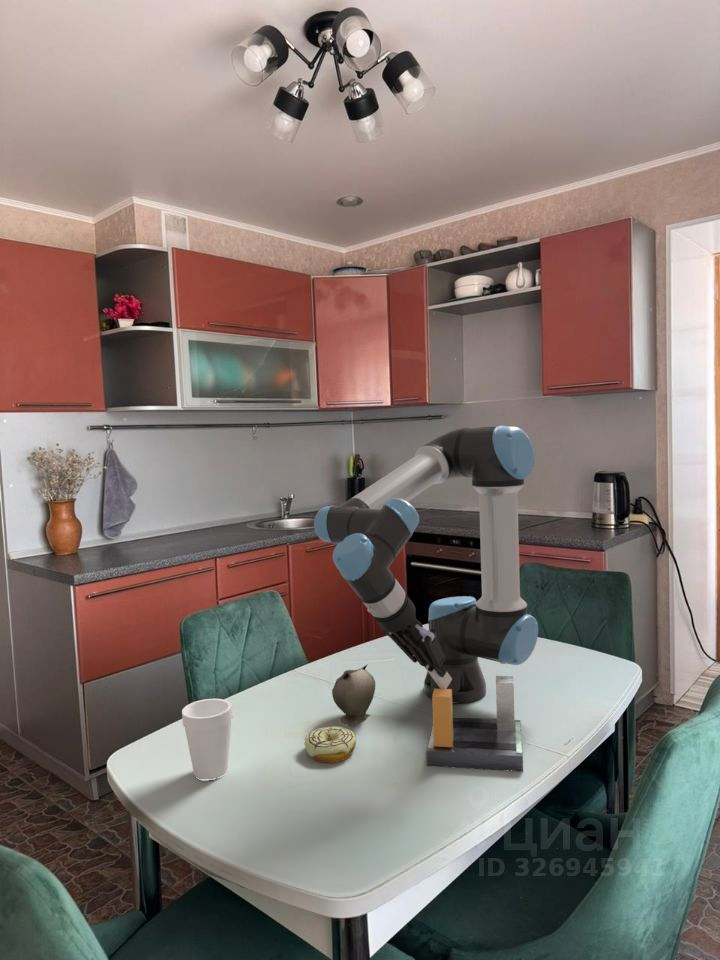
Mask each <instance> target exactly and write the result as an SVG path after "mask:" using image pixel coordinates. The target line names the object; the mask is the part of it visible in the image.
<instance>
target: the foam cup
mask: <svg viewBox="0 0 720 960" xmlns="http://www.w3.org/2000/svg"><path fill="white" fill-rule="evenodd" d="M181 717H182V719H181V720H182V725H183V727H184V730H185V736H186V740H187V745H188V750H189V755H190V756H189V757H190V760H191V761H190V762H191V765H192V770H193V776H194V775H195V776H196V777H197V778H199V779H214V778H218V777H220V776H222V775H224V774H225V773H226V771H227V772H228V769H229V758H230V757H229V756H230V745H231V744H230V742H231V728H232V719H233V706H232V702H230V701H229V700H227V699H224V698H223V699H222V698H207V699H201V700H196V701H192V702H191V703H189V704H186V705H185V706H184V707H183V708H182V710H181ZM226 774H227V773H226ZM195 776H194V777H195Z"/></svg>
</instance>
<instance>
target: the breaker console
mask: <svg viewBox="0 0 720 960" xmlns="http://www.w3.org/2000/svg"><path fill="white" fill-rule="evenodd" d="M514 685H515V684H514V676H513V675H495V699H496V700H495V701H496V702H495V703H496V719H495V718H480V717H479V718H478V717H457V716H456V717H453V744H452V747H437V746H434V732H433V725H432V727H431V732H430V737H429V741H428V745H427V749H426V760H427V761H426V763H427V764H426V766H427V767H435V766H436V767H437V768H438V766H439V768H452V767H455V769H469V770H475V769H476V770H487V771H489V770H490V771H503V770H509V772H520V771H523V772H524V758H523V757H524V756H523V755H524V754H523V740H522V726H521V725H522V724H521V719H515V693H514V692H515V689H514ZM470 768H471V769H470ZM488 769H489V770H488ZM511 770H512V771H511Z"/></svg>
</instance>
